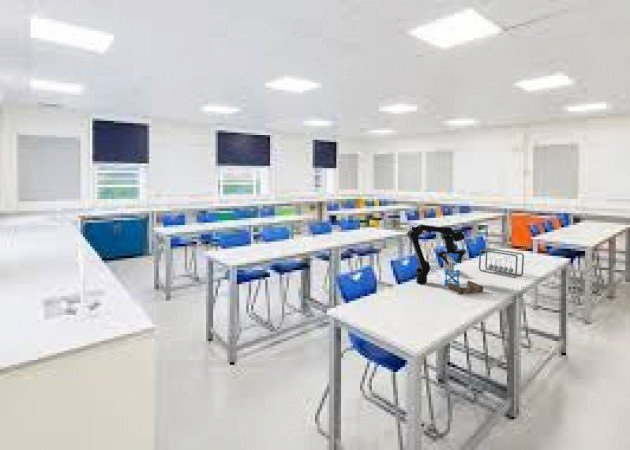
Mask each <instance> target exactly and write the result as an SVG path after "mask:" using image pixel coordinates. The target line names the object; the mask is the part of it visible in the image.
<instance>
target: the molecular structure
mask: <svg viewBox="0 0 630 450" xmlns="http://www.w3.org/2000/svg"><path fill="white" fill-rule="evenodd" d="M448 271H451V270H447V269H445V272H444V275H445V279H444V286H447V287H448V283H453V284H454V285H457V286H459V287H461V285H460V281H459V279H460V277H459V276H460V275H461V273H460V270H459V269H456V270H454V271H451V272H454V273H448ZM450 274H454V275H453V276H451V275H450ZM455 276H457V277H455ZM448 277H449V278H448ZM447 278H448V279H447ZM455 278H456V279H455Z"/></svg>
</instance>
